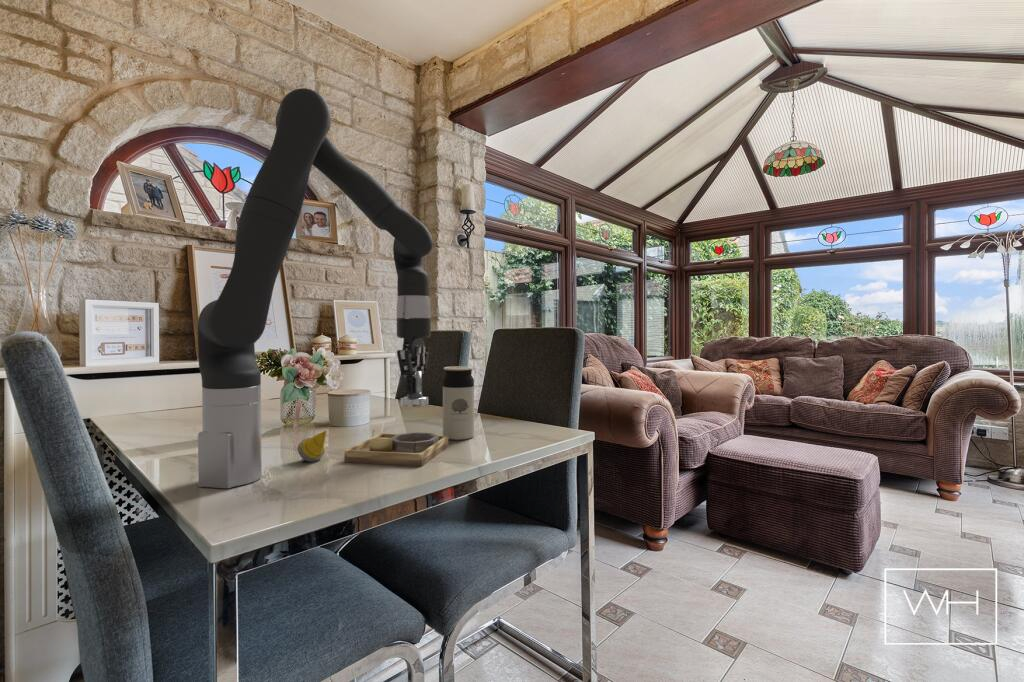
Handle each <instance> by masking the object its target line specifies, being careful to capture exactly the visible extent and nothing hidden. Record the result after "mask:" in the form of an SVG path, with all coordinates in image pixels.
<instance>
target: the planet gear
mask: <svg viewBox="0 0 1024 682" xmlns="http://www.w3.org/2000/svg"><path fill="white" fill-rule="evenodd" d="M422 376H423V375H422V371H417V375H416V377H414V378H416V381H417V393H416V394H407V393H406V395H407V396H403V397H400V407H401V406H402V407H407V408H413V407H425V406H426V405H429V404H430V403H429V396H423V391H422Z"/></svg>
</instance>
